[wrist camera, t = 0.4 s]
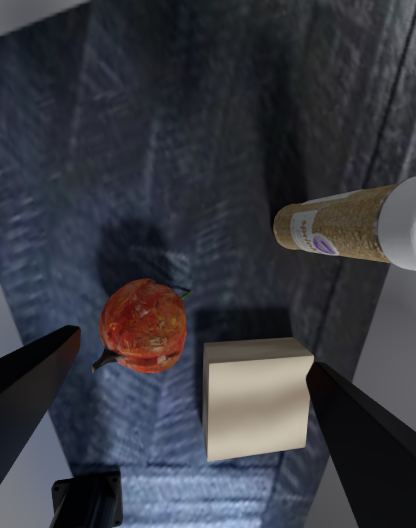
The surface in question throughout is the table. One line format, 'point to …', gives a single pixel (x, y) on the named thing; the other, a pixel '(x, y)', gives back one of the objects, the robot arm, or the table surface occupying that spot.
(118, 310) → the red oval lump
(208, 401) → the pale wooden block
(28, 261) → the table surface
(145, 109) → the table surface
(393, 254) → the sprinkles bottle
